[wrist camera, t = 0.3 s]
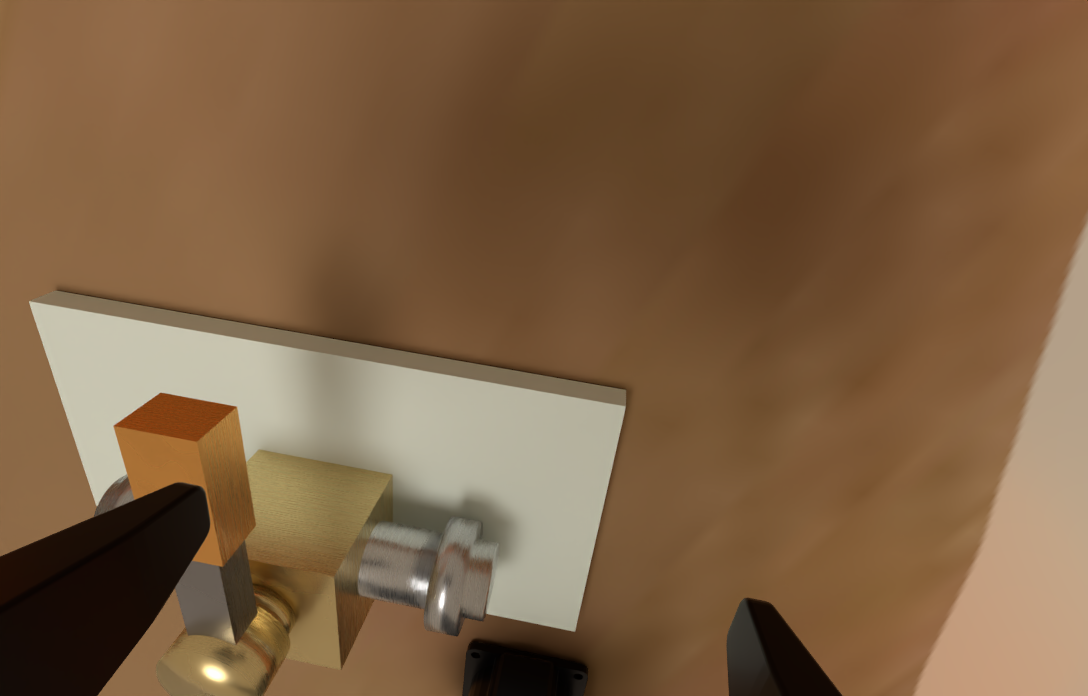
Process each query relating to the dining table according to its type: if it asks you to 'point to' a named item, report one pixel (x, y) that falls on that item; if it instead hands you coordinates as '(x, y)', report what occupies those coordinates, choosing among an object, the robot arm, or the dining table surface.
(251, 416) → the board
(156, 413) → the lever
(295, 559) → the valve
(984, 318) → the dining table surface
